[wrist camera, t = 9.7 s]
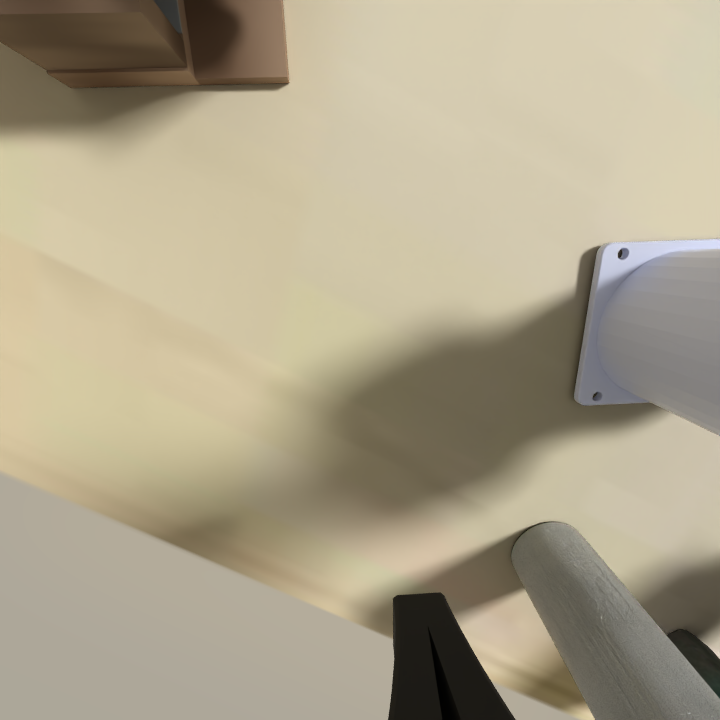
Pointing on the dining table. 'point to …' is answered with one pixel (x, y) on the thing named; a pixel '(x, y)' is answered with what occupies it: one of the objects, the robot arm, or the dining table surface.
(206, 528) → the dining table surface
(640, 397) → the robot arm
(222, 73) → the dock
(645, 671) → the grey cylinder
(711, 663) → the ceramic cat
